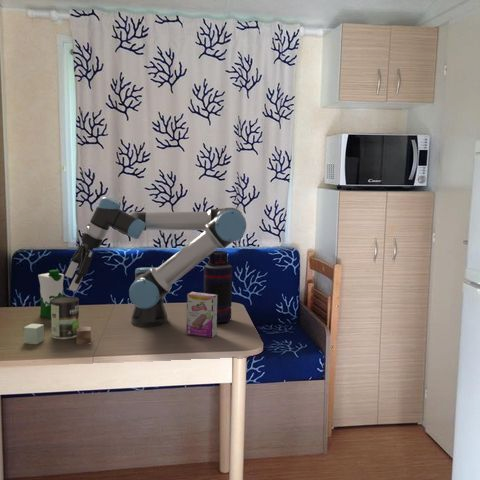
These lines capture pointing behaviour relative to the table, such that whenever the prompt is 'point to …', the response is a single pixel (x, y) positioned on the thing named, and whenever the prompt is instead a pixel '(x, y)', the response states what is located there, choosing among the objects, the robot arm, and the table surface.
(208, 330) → the candy bar box
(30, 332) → the sage block
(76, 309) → the coffee can
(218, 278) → the dark capped bottle
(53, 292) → the milk carton
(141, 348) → the table surface
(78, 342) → the brown wooden cube
